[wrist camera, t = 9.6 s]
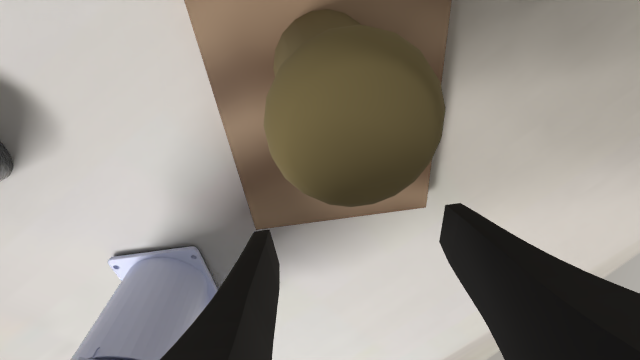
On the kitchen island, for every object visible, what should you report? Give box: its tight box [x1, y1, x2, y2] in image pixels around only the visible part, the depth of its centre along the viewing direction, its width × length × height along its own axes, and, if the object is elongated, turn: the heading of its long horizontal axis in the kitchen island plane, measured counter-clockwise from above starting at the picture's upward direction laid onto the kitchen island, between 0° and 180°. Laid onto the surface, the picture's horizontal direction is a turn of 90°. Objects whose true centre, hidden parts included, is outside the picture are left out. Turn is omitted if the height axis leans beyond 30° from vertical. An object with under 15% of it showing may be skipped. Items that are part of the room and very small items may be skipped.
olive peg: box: [263, 9, 445, 207], centre depth 11 cm, size 6×6×11 cm
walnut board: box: [184, 0, 452, 230], centre depth 17 cm, size 22×14×2 cm, turn 6°
